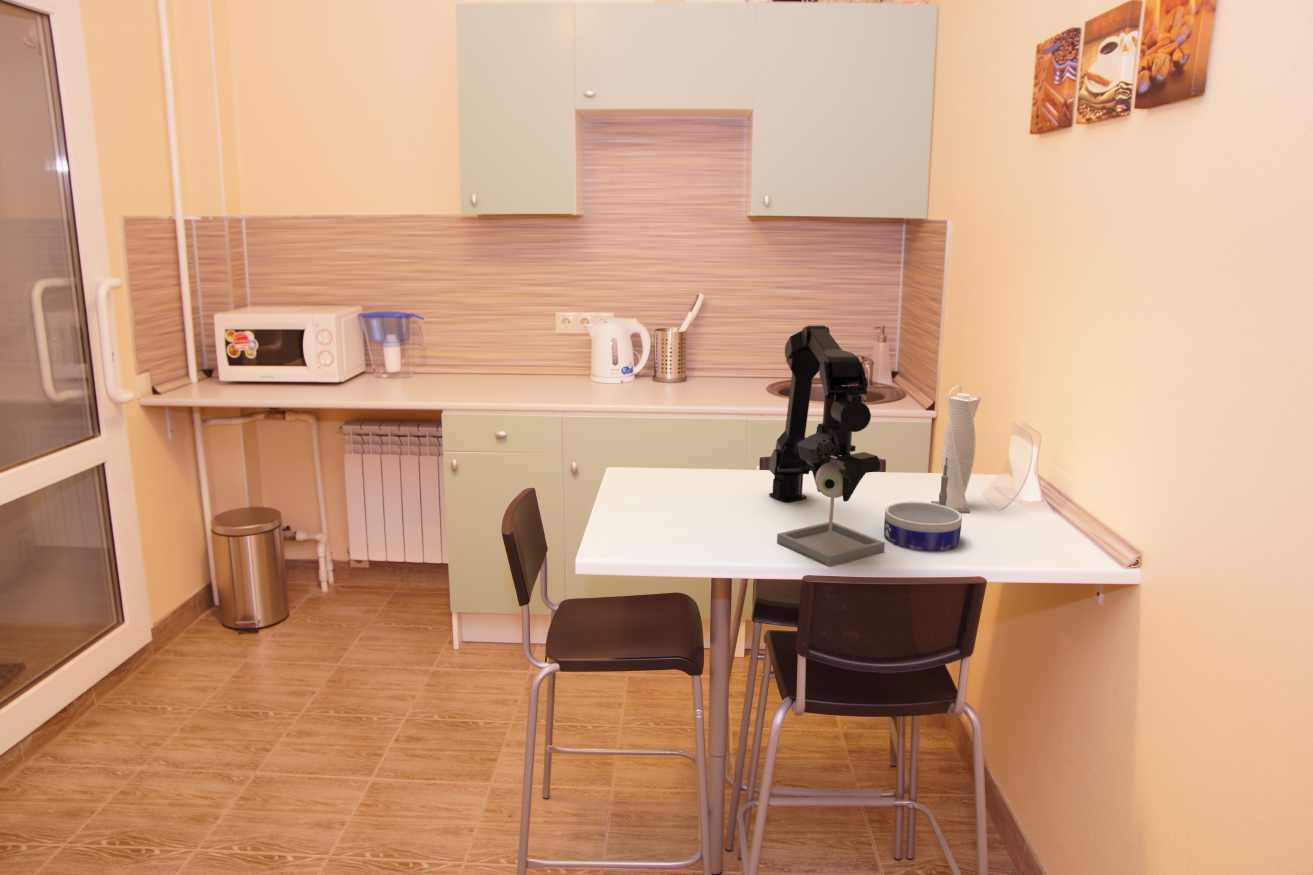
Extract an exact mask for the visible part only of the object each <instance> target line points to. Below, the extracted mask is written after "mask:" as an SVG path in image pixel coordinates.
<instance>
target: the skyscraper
mask: <svg viewBox="0 0 1313 875" xmlns="http://www.w3.org/2000/svg"><path fill="white" fill-rule="evenodd" d="M957 388H958V392H957V394H956V396H955V395H953V396H951V394H952V392H953V391H954V390H955V389H957ZM962 388H963V387H962V385H961V384H958V385H955V386H954V387H952V388H950V390H949V392H948V395H947V397H946V401H947V402H946V403H947V411H948V412H947V413H948V421H947V423H946V424H947V425H946V428H945V432H944V437H943V445H942V453H941V454H942V455H941V456H942V457H941V469H942V470H941V472H942V475H941V481H940V491H939V493H938V501H937V500H930V503H933V504H939V505H943V506H946V507H949V508H952V509H954V510H956V511H958V512H959V513H960V514H971V510H970V509H969V506H968V501H967V499H966V491H967V489H968V486H969V482H970V478H971V475H972V471H973V465H974V463H975V462H974V461H975V455H976V428H975V420H974V418H975V416H976V413H977V410H978V407H979V404H980V402H981V399H982V397H981V396H980V395H976V396H975V395H974V396H972V397H971V395H970V394H969V393H965V392H964V393H962ZM950 396H951V397H950Z"/></svg>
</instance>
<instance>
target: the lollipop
mask: <svg viewBox="0 0 1313 875" xmlns="http://www.w3.org/2000/svg"><path fill="white" fill-rule="evenodd" d="M841 469H845V467H844V463H841V462H837V461H830V462H829V463H826V464H824V465H822V466H821V467H820V468H819V470H818V471H817V474H816V478H815V479H814V482H816V483H815V486H817V487H816V489H817V488H818V490H819V491H820V492H819V493H820V494H822V495H823V496H825V497H827V498H830V500H829V502H830V504H829V519H828V522H829V532H828V534H829V535H832V523H833V522H834V520H833V519H834V505H835V499H836V498H840V497H843V476H842V474H841V473H840V471H839V470H841ZM818 490H817V491H818Z"/></svg>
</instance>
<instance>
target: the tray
mask: <svg viewBox="0 0 1313 875" xmlns="http://www.w3.org/2000/svg"><path fill="white" fill-rule="evenodd" d="M828 532H829V521H827V522H824V523H818V524H816V525H815V524H814V525H810V526H805V527H802V528H801V527H800V528H796V529H791V530H788V531H784V532H779V533H777V534H776V535H777V536H776V544H778V545H781V546H782V547H784V548H787V549H789V550H791V551H793V552H795V553H797V554H800V555H802V556H805V557H806V558H809V559H811V560H813V561H815V562H817V563H819V564H821V565H824V566H826V567H832V566H836V565H841V564H844V563H848V562H852V561H855V560H859V559H864V558H867V557H871V556H874V555H879V554H882V553H885V546H886V545H885V544H886V543H885V541H882V540H879V539H877V538H875V537H872V536H870V535H866V534H864V533H862V532H860V531H857V530H855V529H852V528H849V527H847V526H845V525H843V524H839V523H837V522H834V521H833V523H832V535H829V534H828Z"/></svg>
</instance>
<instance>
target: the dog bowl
mask: <svg viewBox="0 0 1313 875" xmlns="http://www.w3.org/2000/svg"><path fill="white" fill-rule="evenodd" d="M962 521H963V516H962V513H959V512H958V511H956V510H954V509H952V508H949V507H946V506H943V505H939V504H933V503H931V502H926V501H925V502H923V501H900V502H895V503H892V504H889V505H888V506H886V507H885V510H884V522H883V524H884V527H883V528H884V529H883V532H884V533H883V536H884V539H885V540H886V541H887V542H888V543H890V544H892V545H894V546H896V547H899V548H903V549H906V550H911V551H916V552H927V553H928V552H929V553H930V552H932V553H935V552H936V553H937V552H946V551H951V550H954V549H956V548H957V547H958V546H959V544H960V538H961V531H962Z"/></svg>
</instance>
